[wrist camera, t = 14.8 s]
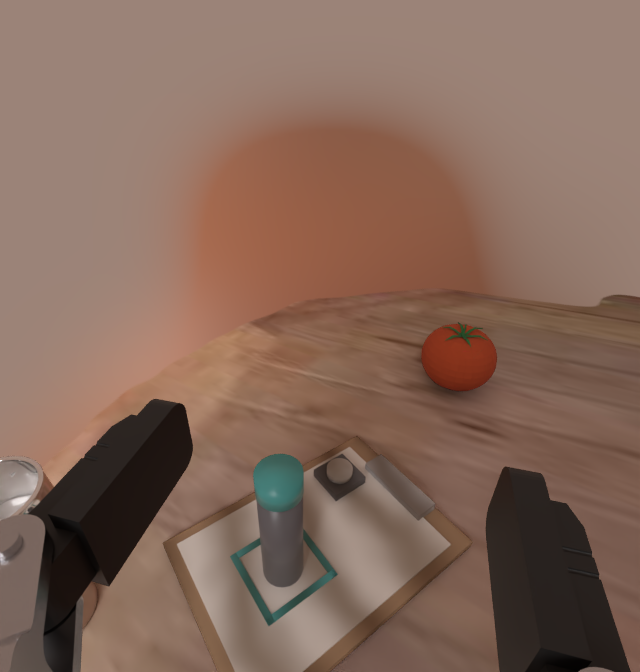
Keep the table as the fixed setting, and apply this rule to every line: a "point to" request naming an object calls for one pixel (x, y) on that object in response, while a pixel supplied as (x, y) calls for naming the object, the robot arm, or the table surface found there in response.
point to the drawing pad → (315, 566)
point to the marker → (280, 517)
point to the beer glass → (32, 504)
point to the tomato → (459, 357)
